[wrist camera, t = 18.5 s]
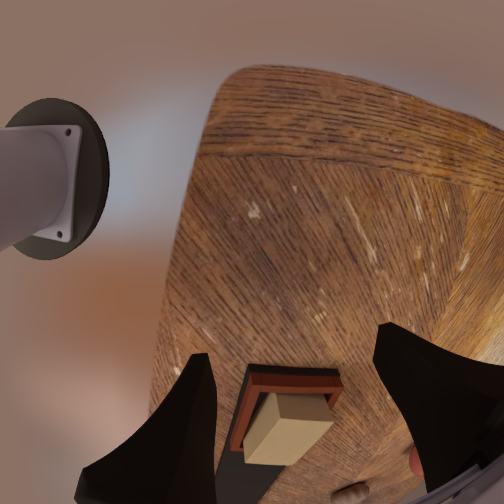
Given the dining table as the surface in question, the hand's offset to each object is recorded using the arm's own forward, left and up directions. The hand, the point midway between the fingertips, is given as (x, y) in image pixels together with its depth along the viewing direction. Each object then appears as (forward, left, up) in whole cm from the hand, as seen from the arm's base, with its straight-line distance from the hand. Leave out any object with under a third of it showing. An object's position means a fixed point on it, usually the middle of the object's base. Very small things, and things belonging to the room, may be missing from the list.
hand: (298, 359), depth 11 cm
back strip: (+5, -29, -9) cm, 30 cm away
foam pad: (+5, -14, -8) cm, 17 cm away
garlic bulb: (+27, -43, -10) cm, 52 cm away
